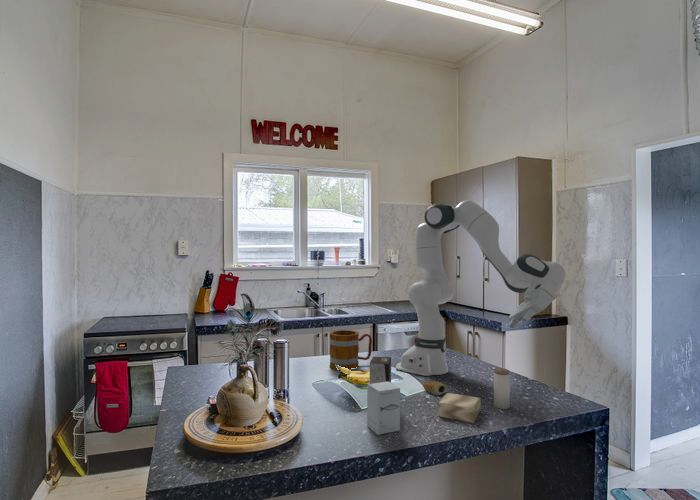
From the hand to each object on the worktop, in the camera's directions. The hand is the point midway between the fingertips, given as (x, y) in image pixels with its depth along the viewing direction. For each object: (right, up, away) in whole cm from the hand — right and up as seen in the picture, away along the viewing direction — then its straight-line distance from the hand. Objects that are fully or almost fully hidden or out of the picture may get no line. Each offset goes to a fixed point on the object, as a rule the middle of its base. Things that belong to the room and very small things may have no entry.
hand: (518, 323), depth 149 cm
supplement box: (-49, -27, -24) cm, 61 cm away
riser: (-24, -26, -13) cm, 38 cm away
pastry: (-28, -27, +8) cm, 39 cm away
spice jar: (-8, -26, -6) cm, 28 cm away
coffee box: (-49, -27, -9) cm, 56 cm away
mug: (-59, -26, +42) cm, 76 cm away
